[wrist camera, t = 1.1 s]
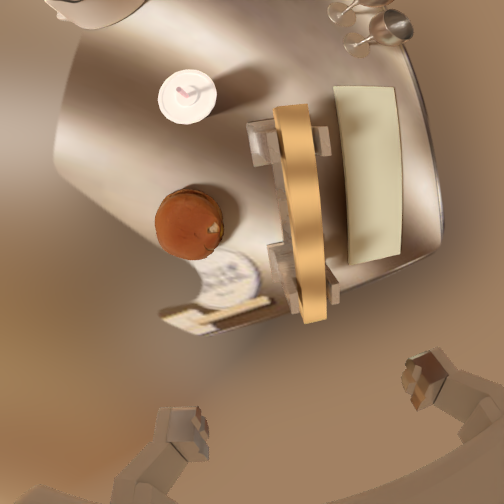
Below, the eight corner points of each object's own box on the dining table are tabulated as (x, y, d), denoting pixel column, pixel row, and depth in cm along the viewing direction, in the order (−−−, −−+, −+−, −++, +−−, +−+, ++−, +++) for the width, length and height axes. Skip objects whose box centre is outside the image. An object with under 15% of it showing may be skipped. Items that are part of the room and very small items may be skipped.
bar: (272, 109, 27) (277, 106, 24) (299, 106, 27) (307, 103, 24) (299, 310, 38) (304, 324, 35) (320, 305, 38) (326, 318, 35)
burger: (147, 204, 38) (138, 214, 34) (205, 176, 37) (203, 182, 33) (178, 261, 42) (173, 275, 38) (233, 237, 41) (235, 250, 37)
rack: (245, 123, 34) (254, 119, 24) (303, 115, 34) (334, 111, 24) (272, 279, 45) (285, 324, 34) (320, 269, 45) (345, 310, 34)
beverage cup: (218, 81, 32) (214, 54, 19) (219, 124, 34) (215, 119, 21) (173, 85, 31) (144, 62, 18) (174, 128, 34) (145, 127, 21)
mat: (332, 86, 33) (334, 86, 32) (390, 87, 33) (393, 87, 32) (348, 263, 45) (350, 265, 44) (397, 251, 45) (400, 253, 44)
